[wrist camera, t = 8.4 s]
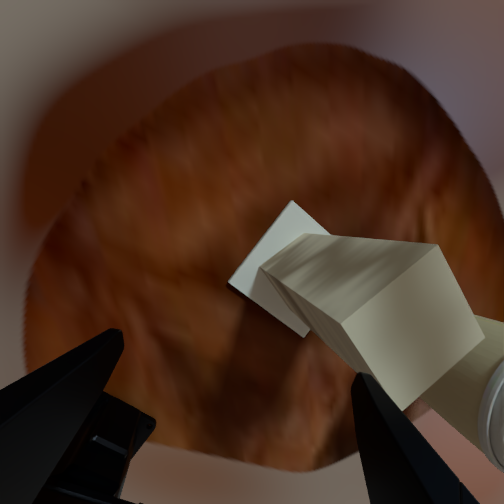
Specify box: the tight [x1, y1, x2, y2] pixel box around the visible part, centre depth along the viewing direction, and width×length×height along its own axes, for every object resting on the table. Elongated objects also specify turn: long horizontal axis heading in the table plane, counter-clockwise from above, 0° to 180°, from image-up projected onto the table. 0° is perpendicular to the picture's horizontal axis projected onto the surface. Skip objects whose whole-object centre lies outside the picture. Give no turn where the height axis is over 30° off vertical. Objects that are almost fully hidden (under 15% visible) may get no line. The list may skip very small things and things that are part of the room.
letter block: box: [259, 233, 485, 411], centre depth 17 cm, size 5×5×13 cm
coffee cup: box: [419, 315, 504, 473], centre depth 21 cm, size 9×9×12 cm
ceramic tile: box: [228, 201, 330, 338], centre depth 23 cm, size 9×9×1 cm
